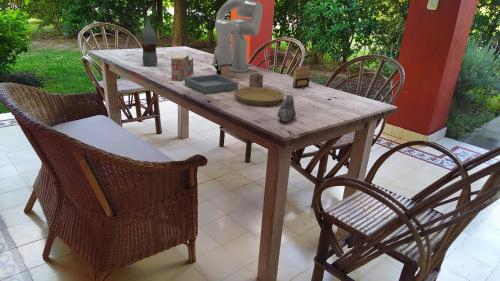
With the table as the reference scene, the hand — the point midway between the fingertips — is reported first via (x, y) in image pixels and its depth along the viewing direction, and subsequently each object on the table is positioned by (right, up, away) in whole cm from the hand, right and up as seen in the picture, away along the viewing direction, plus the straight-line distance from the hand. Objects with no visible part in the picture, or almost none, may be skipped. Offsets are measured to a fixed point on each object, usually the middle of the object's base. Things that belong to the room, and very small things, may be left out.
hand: (222, 75), depth 215 cm
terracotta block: (0, -1, 0) cm, 1 cm away
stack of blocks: (-23, -1, -2) cm, 23 cm away
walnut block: (+19, -9, -16) cm, 26 cm away
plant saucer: (+20, -18, -37) cm, 46 cm away
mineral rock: (+30, -29, -61) cm, 74 cm away
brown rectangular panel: (+44, -8, -10) cm, 46 cm away
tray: (-5, -10, -21) cm, 24 cm away
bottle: (-48, +10, +20) cm, 53 cm away
